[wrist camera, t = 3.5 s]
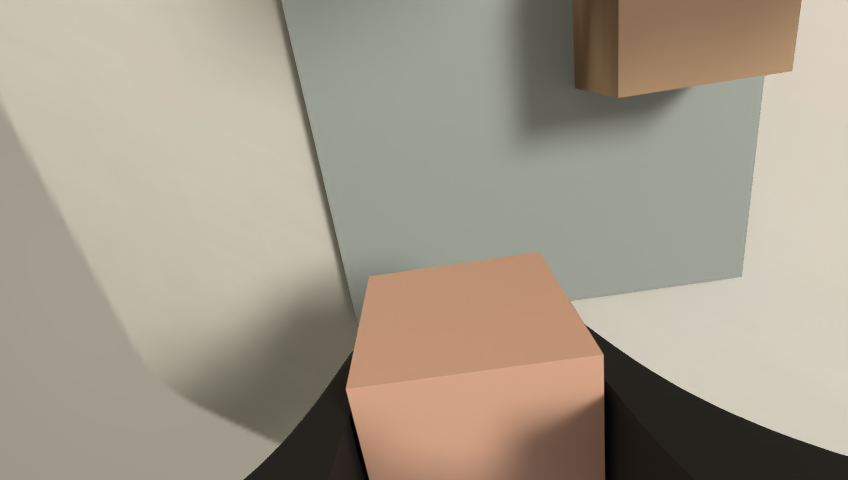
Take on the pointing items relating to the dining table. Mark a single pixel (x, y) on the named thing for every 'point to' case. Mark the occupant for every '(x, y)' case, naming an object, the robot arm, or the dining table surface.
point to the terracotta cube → (476, 376)
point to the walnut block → (679, 43)
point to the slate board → (515, 148)
